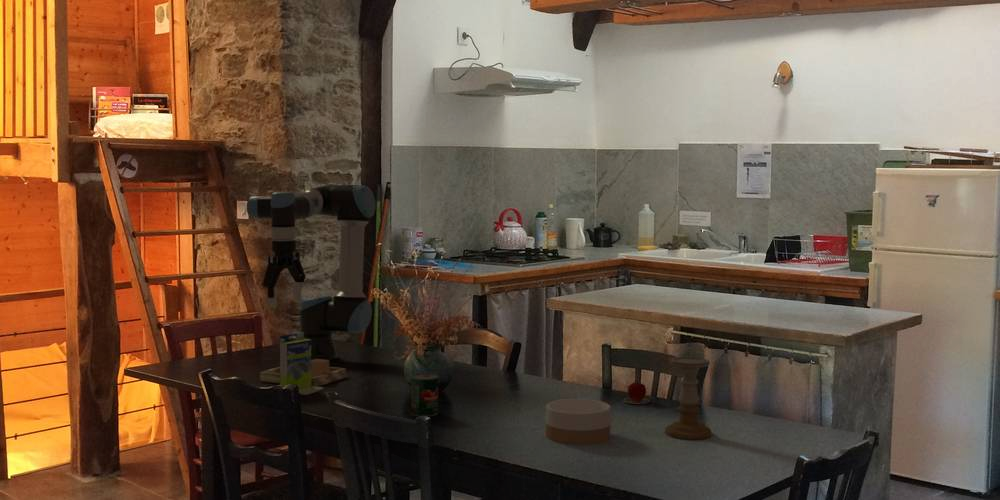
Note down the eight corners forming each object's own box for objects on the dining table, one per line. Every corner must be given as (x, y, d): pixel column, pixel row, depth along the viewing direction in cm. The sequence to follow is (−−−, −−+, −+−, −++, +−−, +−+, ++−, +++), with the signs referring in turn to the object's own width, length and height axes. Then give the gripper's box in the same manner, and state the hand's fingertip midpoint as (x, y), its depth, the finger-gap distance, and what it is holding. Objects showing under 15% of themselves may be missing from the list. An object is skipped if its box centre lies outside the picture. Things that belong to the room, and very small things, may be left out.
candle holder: (719, 438, 273) (721, 363, 271) (677, 441, 270) (679, 365, 268) (698, 426, 285) (699, 354, 283) (657, 429, 281) (658, 357, 280)
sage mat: (285, 384, 337) (285, 383, 337) (323, 389, 330) (323, 387, 330) (268, 390, 329) (268, 388, 329) (307, 394, 322) (306, 392, 322)
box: (287, 391, 324) (286, 337, 323) (278, 389, 327) (278, 335, 325) (312, 385, 333) (312, 333, 331) (304, 384, 335) (303, 331, 334)
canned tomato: (431, 417, 294) (431, 379, 293) (406, 415, 297) (406, 377, 296) (442, 411, 301) (442, 374, 300) (418, 409, 304) (418, 372, 303)
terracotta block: (316, 379, 346) (316, 358, 345) (329, 380, 344) (329, 360, 343) (309, 381, 342) (309, 360, 342) (322, 382, 340) (322, 362, 340)
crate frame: (292, 371, 359) (292, 363, 358) (346, 377, 349) (346, 368, 349) (260, 381, 342) (260, 372, 342) (315, 387, 333) (314, 378, 333)
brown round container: (564, 448, 263) (564, 415, 263) (534, 432, 279) (535, 401, 278) (622, 441, 270) (622, 409, 270) (590, 425, 286) (591, 396, 285)
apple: (630, 398, 320) (631, 377, 319) (654, 401, 315) (654, 380, 315) (618, 402, 313) (618, 381, 313) (641, 406, 309) (642, 385, 308)
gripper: (296, 236, 346) (297, 298, 348) (250, 242, 323) (252, 309, 325) (315, 237, 343) (316, 300, 345) (270, 243, 320) (271, 311, 322)
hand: (285, 304), depth 335 cm, fingers open, 13 cm apart
